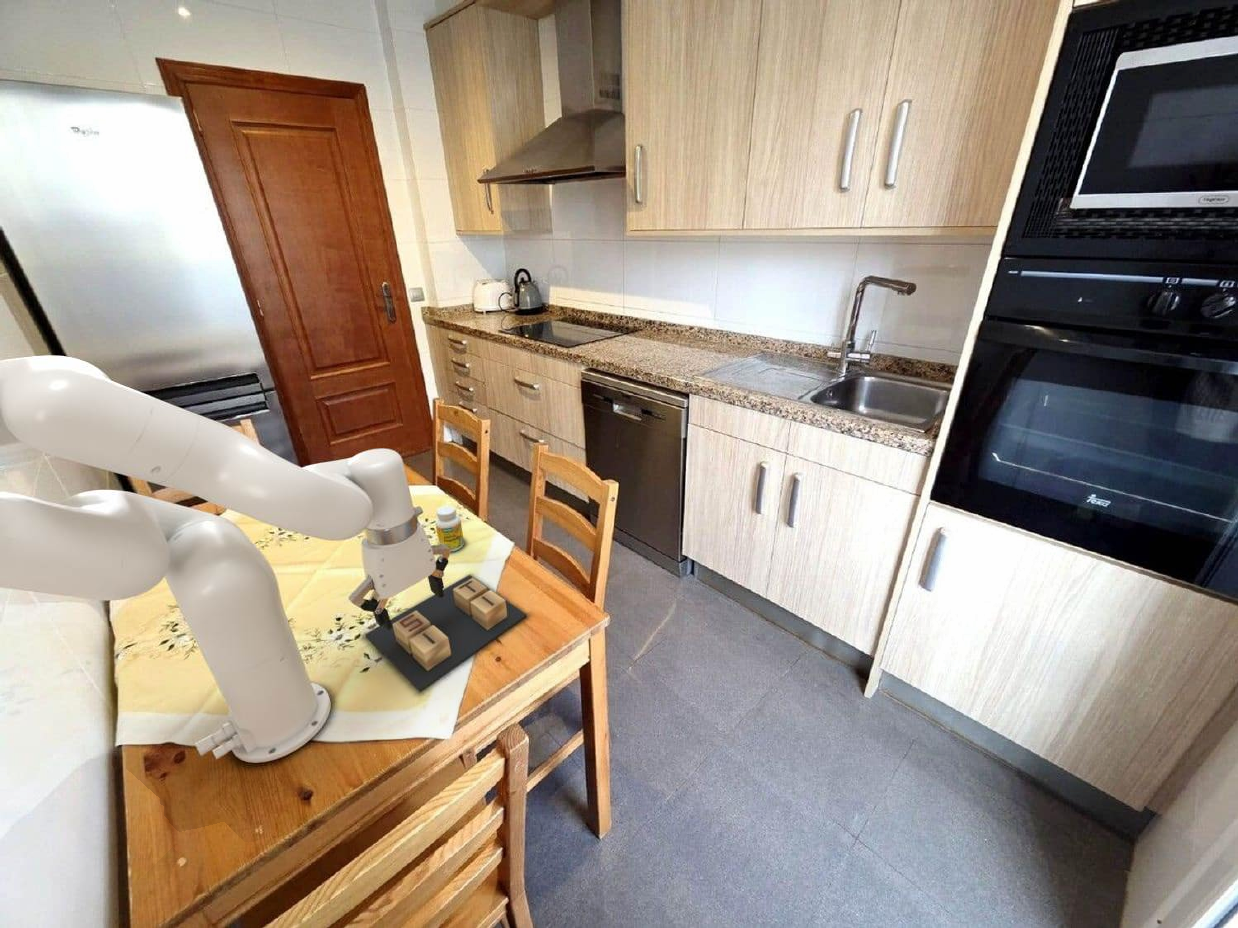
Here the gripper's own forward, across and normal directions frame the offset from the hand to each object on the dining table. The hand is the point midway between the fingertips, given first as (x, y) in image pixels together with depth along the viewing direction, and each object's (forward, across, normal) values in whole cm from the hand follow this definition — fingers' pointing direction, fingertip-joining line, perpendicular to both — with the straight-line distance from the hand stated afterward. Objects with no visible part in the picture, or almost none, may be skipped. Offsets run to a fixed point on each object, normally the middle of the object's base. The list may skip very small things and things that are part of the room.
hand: (412, 608), depth 86 cm
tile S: (+7, +1, 0) cm, 7 cm away
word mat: (+7, -5, +1) cm, 9 cm away
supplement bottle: (+8, -20, -20) cm, 30 cm away
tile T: (+7, -11, 0) cm, 13 cm away
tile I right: (+7, -11, +6) cm, 14 cm away
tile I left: (+7, +1, +6) cm, 9 cm away
